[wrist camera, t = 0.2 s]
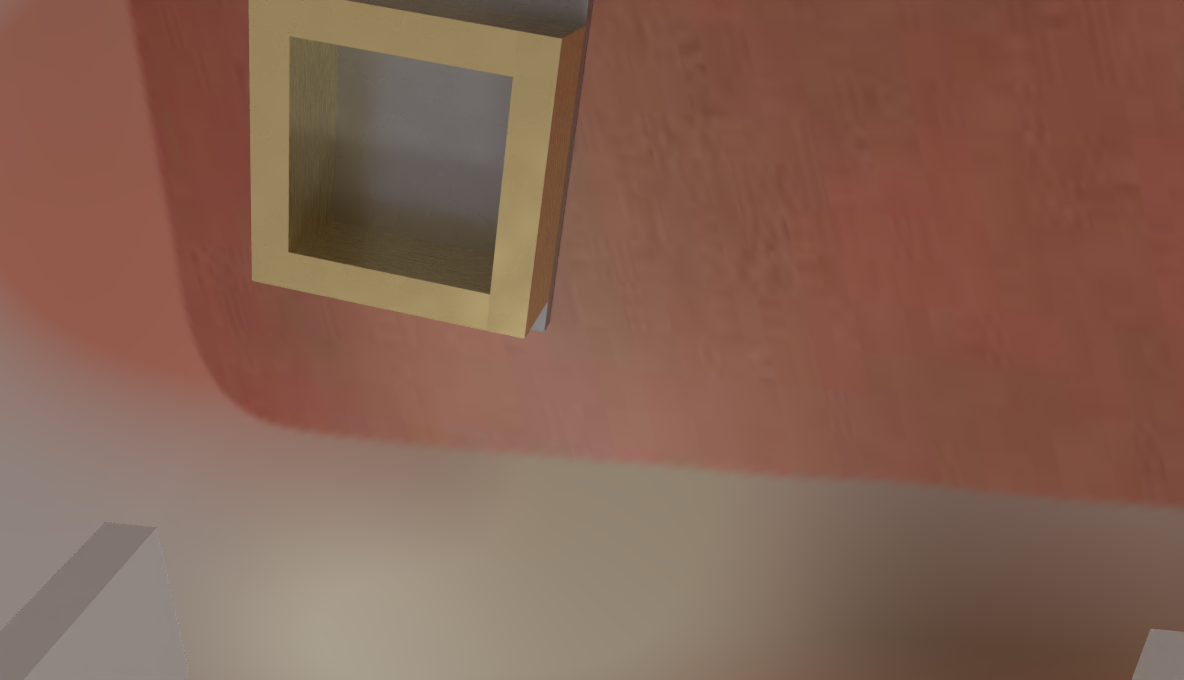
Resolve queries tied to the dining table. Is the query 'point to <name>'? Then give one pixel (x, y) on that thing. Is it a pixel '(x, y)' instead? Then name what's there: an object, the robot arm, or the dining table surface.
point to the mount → (415, 152)
